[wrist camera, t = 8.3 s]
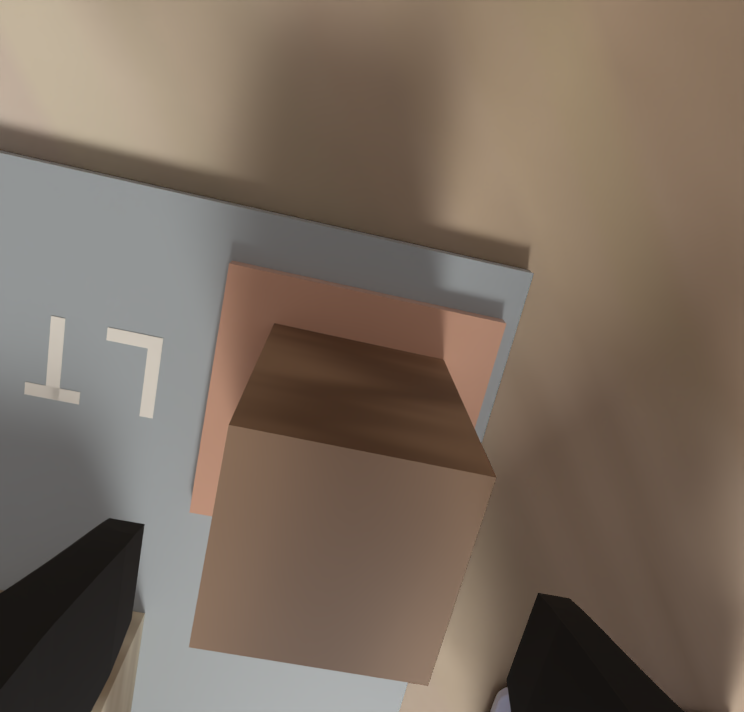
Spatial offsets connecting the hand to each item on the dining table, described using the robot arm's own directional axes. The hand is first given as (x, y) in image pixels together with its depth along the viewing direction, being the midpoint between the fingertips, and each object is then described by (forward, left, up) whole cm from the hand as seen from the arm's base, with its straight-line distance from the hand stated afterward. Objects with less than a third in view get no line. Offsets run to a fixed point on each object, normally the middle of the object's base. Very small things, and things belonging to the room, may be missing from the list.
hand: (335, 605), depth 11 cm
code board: (+4, +5, -9) cm, 11 cm away
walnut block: (0, 0, -8) cm, 8 cm away
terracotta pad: (0, 0, -8) cm, 8 cm away
